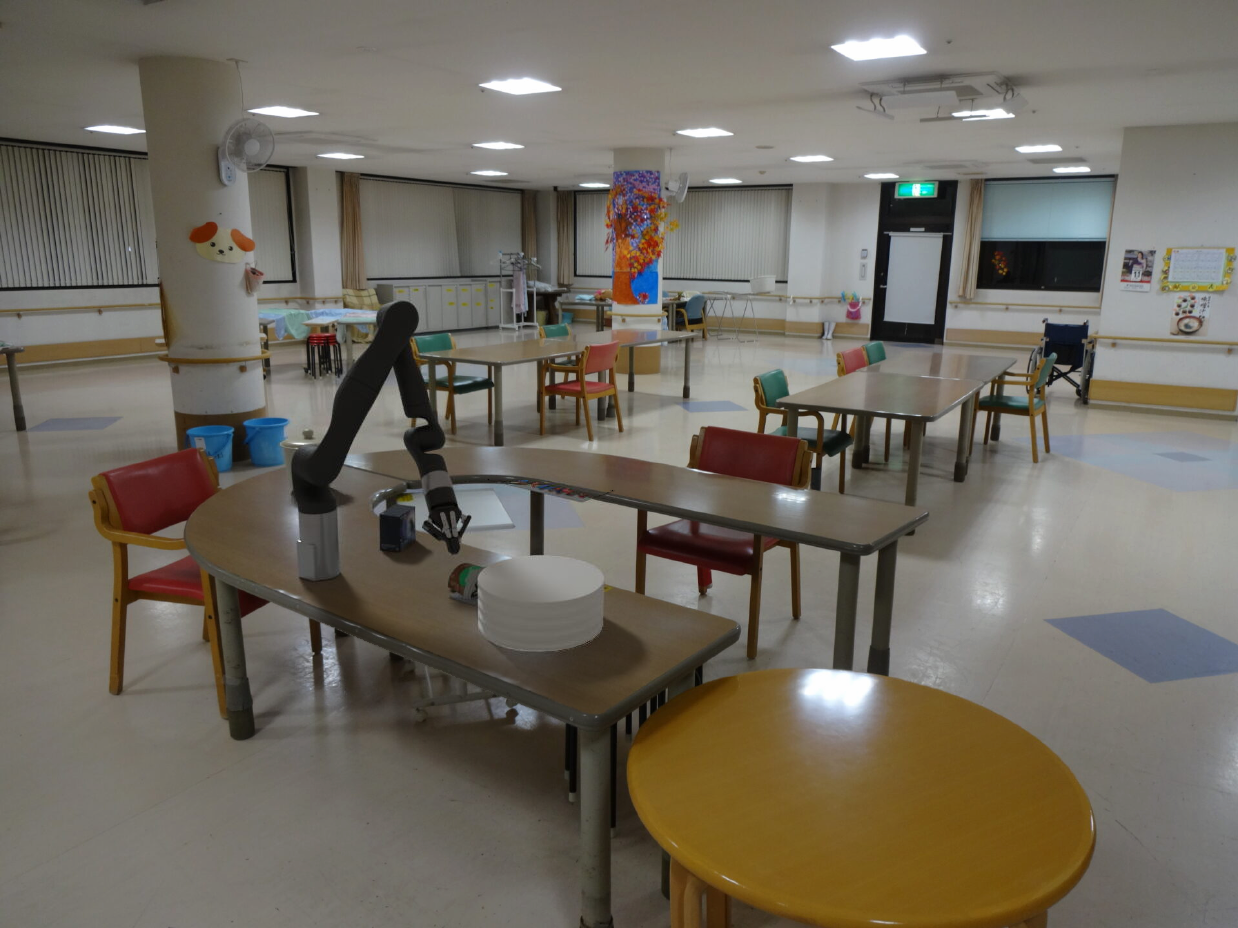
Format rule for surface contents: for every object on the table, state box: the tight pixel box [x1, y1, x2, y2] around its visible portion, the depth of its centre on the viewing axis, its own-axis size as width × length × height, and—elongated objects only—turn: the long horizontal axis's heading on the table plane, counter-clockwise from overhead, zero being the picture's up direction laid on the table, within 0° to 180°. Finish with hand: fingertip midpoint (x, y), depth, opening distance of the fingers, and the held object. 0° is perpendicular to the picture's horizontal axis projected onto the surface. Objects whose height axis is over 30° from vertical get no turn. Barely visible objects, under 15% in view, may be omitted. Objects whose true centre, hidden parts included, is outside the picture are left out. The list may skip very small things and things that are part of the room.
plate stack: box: [477, 554, 605, 650], centre depth 192 cm, size 28×28×12 cm
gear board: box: [496, 480, 594, 503], centre depth 306 cm, size 45×2×19 cm
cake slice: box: [447, 562, 487, 600], centre depth 210 cm, size 12×6×10 cm
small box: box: [378, 503, 417, 553], centre depth 239 cm, size 11×6×10 cm, turn 168°
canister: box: [279, 428, 333, 491], centre depth 288 cm, size 18×18×21 cm
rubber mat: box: [449, 591, 478, 607], centre depth 211 cm, size 18×10×1 cm, turn 149°
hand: (455, 553), depth 211 cm, fingers closed
